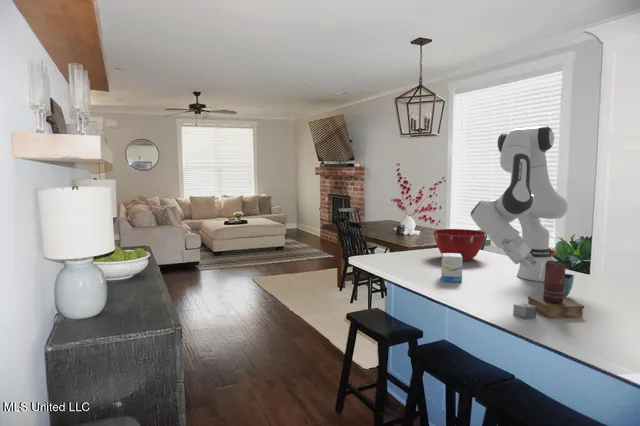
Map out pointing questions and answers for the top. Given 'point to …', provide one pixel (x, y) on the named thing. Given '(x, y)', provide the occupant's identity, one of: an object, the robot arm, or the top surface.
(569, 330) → the top surface
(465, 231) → the mixing bowl
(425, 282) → the top surface
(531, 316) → the steel block
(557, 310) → the stand
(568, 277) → the flower pot
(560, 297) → the can
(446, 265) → the ink box
